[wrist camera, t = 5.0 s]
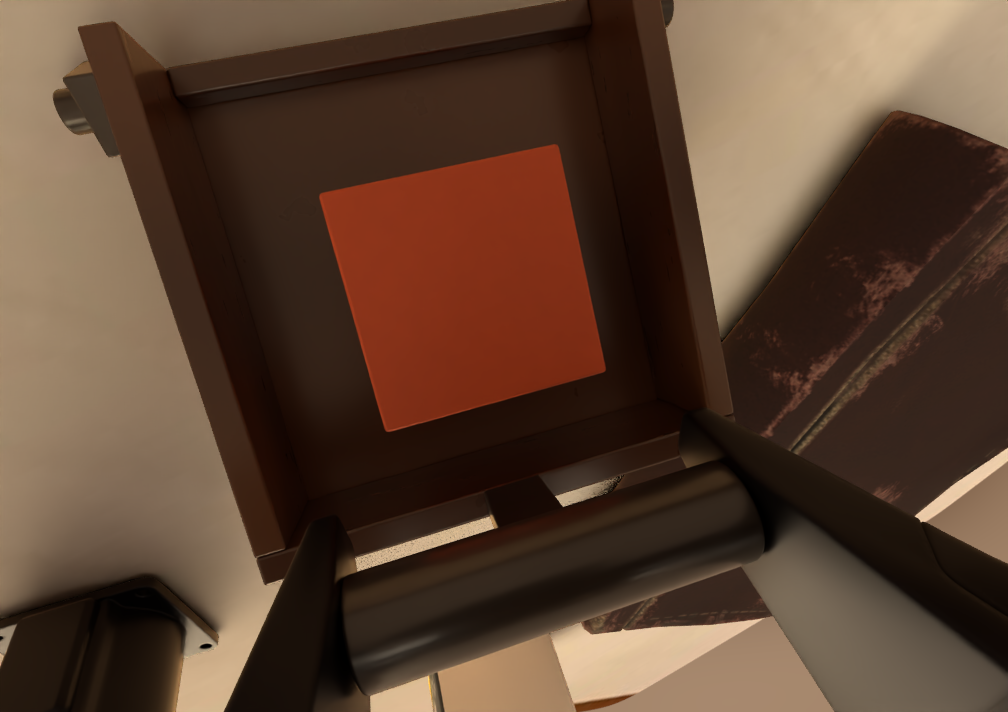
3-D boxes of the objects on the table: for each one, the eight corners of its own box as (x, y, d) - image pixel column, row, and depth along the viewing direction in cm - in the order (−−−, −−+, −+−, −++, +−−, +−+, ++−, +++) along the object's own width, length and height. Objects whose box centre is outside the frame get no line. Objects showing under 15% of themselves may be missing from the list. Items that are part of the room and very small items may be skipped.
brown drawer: (673, 426, 15) (896, 536, 8) (301, 538, 14) (199, 785, 7) (593, 19, 13) (789, -264, 7) (160, 95, 12) (-164, -169, 5)
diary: (545, 552, 30) (579, 643, 27) (871, 97, 18) (1023, 150, 14) (766, 546, 39) (816, 614, 35) (1094, 235, 26) (1226, 291, 22)
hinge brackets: (653, 39, 15) (680, 50, 14) (95, 143, 12) (77, 165, 11) (659, -33, 14) (688, -27, 12) (50, 66, 11) (25, 83, 10)
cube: (548, 349, 14) (608, 371, 10) (390, 391, 13) (385, 434, 9) (511, 187, 13) (559, 142, 9) (344, 224, 12) (317, 192, 8)
